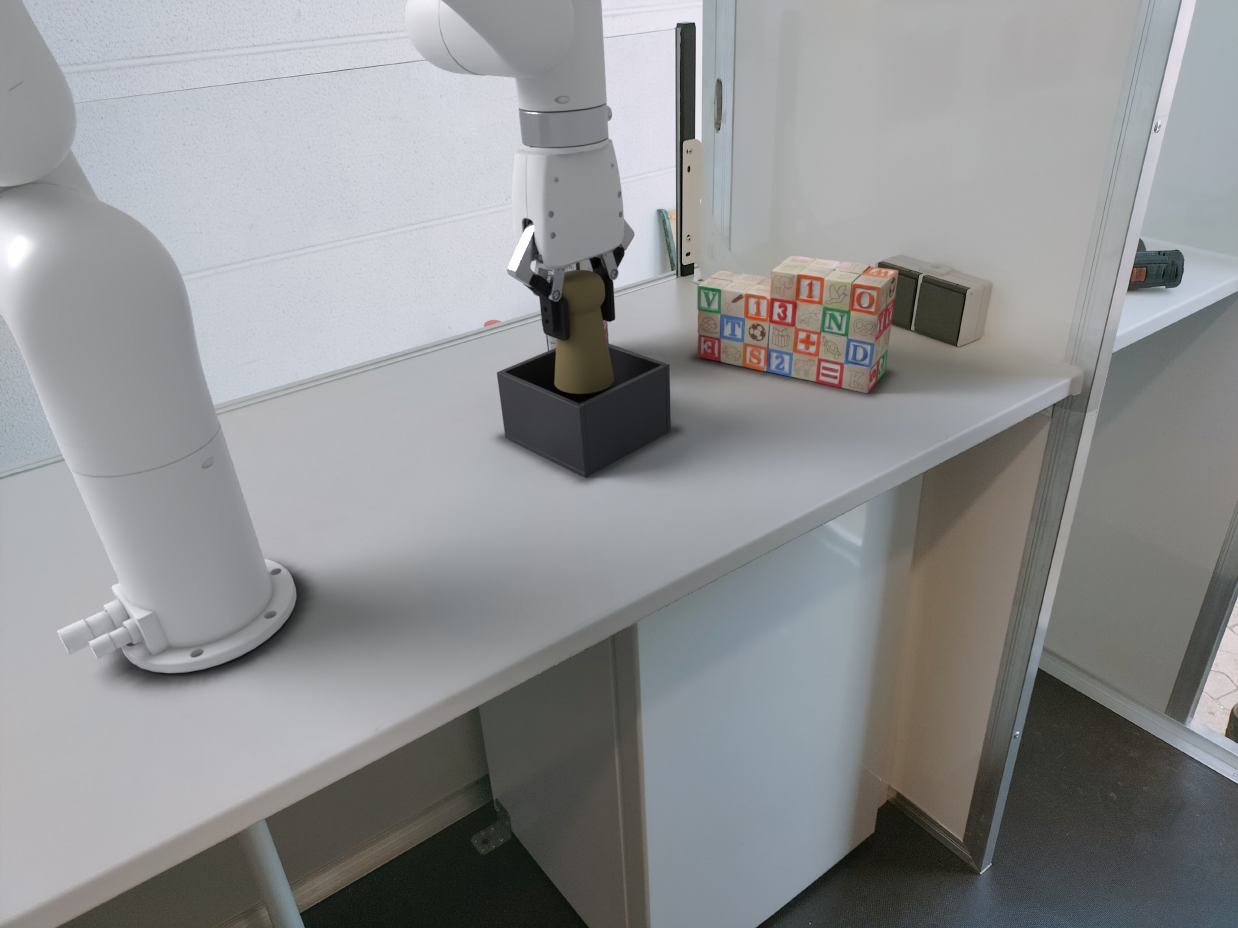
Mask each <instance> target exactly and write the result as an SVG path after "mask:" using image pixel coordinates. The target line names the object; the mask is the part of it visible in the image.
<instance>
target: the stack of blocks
mask: <svg viewBox="0 0 1238 928" xmlns="http://www.w3.org/2000/svg"><path fill="white" fill-rule="evenodd" d="M898 278H899V270H898V269H891V268H884V267H878V266H871V265H870V264H867V263H861V262H853V261H840V260H832V259H823V258H816V257H810V256H809V257H808V256H801V255H790V256H789V257H787V258H786V259H784V260H783V261H782V262H781V263H779V265H777V266H776V267H774V268H773V269H772V270H771V272H770V277H767V276H762V275H755V274H748V273H741V272H733V271H728V270H727V271H726V270H719V271H717V272H716V273H714V274H712V275H710V276H709V277H708V278H707V279H705V280H704V281H702V282H701V283H699V284H698V285H697V289H696V290H697V295H696V296H697V297H696V298H697V299H696V301H697V303H696V304H697V307H696V308H697V357H698V358H702V359H707V360H712V361H716V362H717V361H718V362H720V363H724V364H729V365H733V366H738V367H744V368H747V369H752V370H756V371H761V372H768V373H771V374H778V375H783V376H786V377H792V378H796V379H800V380H805V381H810V382H816V383H819V384H822V385H827V386H830V387H831V386H832V387H835V388H842V389H845V390H849V391H853V392H859V393H862V394H863V393H864V394H869V393H870V392H871V390H872V389H873V388H874V387H875V385H876V384H877V382H878V381H879V380H880V379H881V377H883V376H884V374H885V373H886V367H887V362H888V361H887V360H888V352H889V349H888V348H889V343H890V336H891V330H892V323H893V319H894V311H895V304H896V291H897V287H898V286H897V284H898Z"/></svg>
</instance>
